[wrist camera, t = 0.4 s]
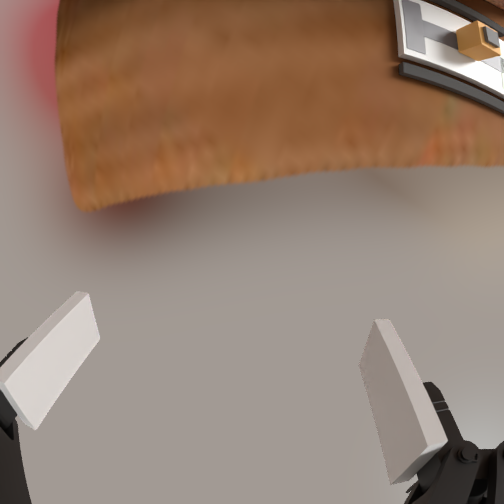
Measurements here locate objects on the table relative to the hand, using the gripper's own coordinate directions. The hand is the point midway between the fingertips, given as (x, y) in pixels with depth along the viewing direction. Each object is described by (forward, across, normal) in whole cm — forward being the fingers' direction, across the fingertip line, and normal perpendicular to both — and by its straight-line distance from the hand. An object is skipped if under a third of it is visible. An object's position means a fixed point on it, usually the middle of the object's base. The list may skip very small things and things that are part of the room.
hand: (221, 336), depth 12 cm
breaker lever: (+25, +30, +29) cm, 48 cm away
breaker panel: (+28, +30, +29) cm, 50 cm away
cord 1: (+28, +30, +37) cm, 55 cm away
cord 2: (+28, +30, +21) cm, 46 cm away
